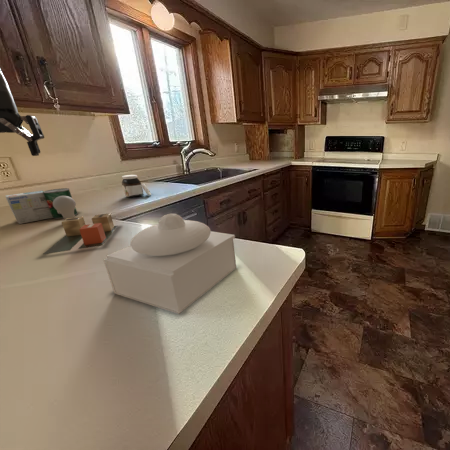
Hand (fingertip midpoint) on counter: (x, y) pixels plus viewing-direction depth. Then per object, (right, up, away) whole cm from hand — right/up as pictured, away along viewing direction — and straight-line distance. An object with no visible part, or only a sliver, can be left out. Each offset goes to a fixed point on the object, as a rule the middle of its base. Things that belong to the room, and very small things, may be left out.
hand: (15, 156), depth 67 cm
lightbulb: (-9, -19, +26) cm, 33 cm away
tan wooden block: (+12, -20, +16) cm, 29 cm away
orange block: (+16, -24, +7) cm, 30 cm away
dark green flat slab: (+11, -24, +10) cm, 28 cm away
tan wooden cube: (+5, -22, +13) cm, 26 cm away
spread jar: (-11, -3, +69) cm, 70 cm away
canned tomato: (-21, -15, +36) cm, 44 cm away
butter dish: (+52, -32, -12) cm, 62 cm away
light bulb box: (-29, -17, +32) cm, 46 cm away
